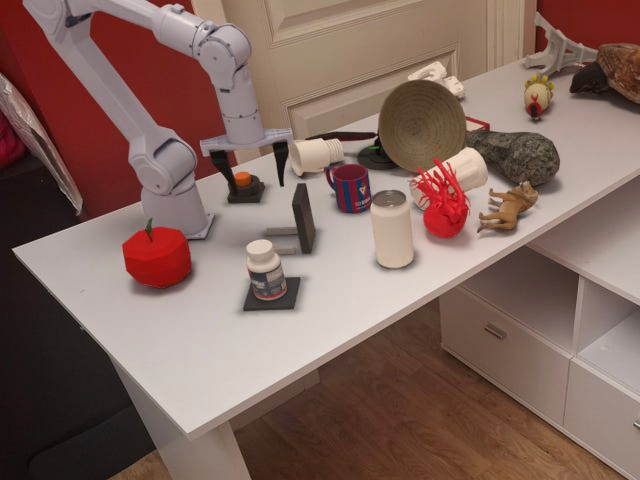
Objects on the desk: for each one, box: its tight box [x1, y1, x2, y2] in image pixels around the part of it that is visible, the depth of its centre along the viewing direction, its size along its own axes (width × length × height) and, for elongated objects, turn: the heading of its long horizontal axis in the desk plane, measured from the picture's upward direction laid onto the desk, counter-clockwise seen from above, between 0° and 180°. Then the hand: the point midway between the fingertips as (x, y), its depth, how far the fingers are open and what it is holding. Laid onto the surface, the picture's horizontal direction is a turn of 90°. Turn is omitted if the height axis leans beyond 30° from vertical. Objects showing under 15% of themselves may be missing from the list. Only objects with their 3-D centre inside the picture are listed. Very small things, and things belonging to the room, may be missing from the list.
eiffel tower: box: [524, 11, 599, 81], centre depth 182 cm, size 13×13×30 cm
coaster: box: [242, 276, 301, 312], centre depth 115 cm, size 8×8×1 cm
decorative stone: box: [466, 129, 561, 187], centre depth 140 cm, size 22×10×10 cm
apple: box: [121, 217, 192, 289], centre depth 115 cm, size 11×11×10 cm
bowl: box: [377, 78, 467, 174], centre depth 145 cm, size 18×18×8 cm
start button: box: [234, 171, 252, 186], centre depth 136 cm, size 3×3×2 cm
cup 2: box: [408, 147, 489, 211], centre depth 134 cm, size 8×8×14 cm
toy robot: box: [356, 130, 401, 171], centre depth 145 cm, size 12×12×12 cm
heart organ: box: [408, 158, 471, 239], centre depth 124 cm, size 10×12×12 cm
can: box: [370, 188, 415, 270], centre depth 118 cm, size 6×6×12 cm
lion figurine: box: [476, 181, 539, 234], centre depth 129 cm, size 15×5×9 cm
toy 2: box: [523, 74, 555, 121], centre depth 163 cm, size 7×7×15 cm
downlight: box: [288, 138, 345, 177], centre depth 144 cm, size 8×7×10 cm
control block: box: [226, 173, 266, 204], centre depth 137 cm, size 6×6×3 cm
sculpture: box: [568, 42, 640, 104], centre depth 165 cm, size 16×17×25 cm
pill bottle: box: [245, 239, 287, 300], centre depth 111 cm, size 5×5×9 cm
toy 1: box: [304, 131, 377, 142], centre depth 148 cm, size 2×22×5 cm
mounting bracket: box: [407, 60, 466, 99], centre depth 171 cm, size 12×6×11 cm
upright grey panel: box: [265, 182, 316, 255], centre depth 122 cm, size 9×7×10 cm
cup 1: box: [324, 163, 372, 214], centre depth 134 cm, size 7×10×7 cm
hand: (259, 187), depth 120 cm, fingers open, 7 cm apart
